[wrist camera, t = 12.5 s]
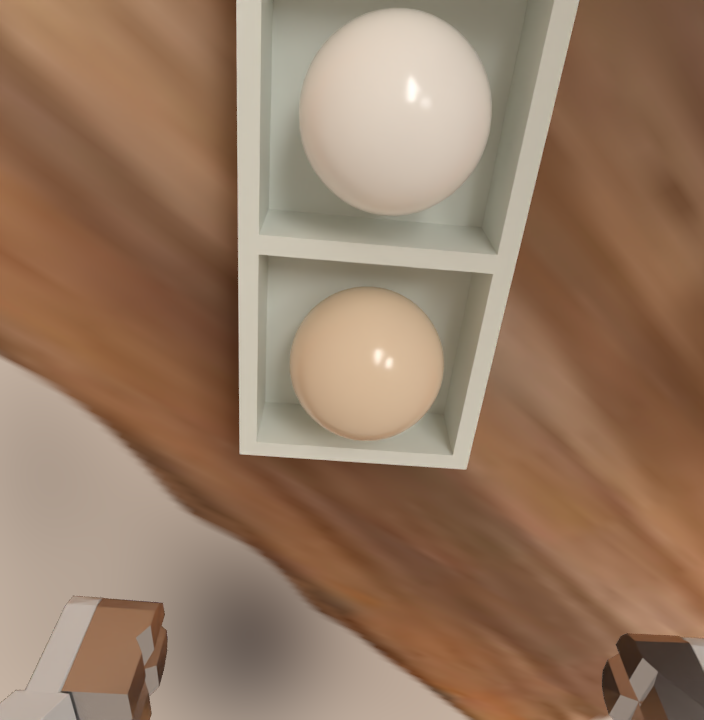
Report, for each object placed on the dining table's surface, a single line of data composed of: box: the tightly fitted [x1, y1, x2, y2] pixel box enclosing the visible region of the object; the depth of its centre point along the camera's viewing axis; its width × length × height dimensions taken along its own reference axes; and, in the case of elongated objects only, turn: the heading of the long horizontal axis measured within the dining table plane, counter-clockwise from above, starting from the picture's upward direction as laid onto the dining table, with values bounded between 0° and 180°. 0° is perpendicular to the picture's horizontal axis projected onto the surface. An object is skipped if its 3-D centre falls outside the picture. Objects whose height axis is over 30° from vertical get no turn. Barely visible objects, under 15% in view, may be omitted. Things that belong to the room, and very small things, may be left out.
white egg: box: [299, 8, 492, 216], centre depth 16 cm, size 5×5×5 cm
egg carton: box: [236, 0, 579, 470], centre depth 17 cm, size 8×23×4 cm, turn 175°
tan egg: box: [289, 286, 444, 441], centre depth 20 cm, size 5×5×5 cm
